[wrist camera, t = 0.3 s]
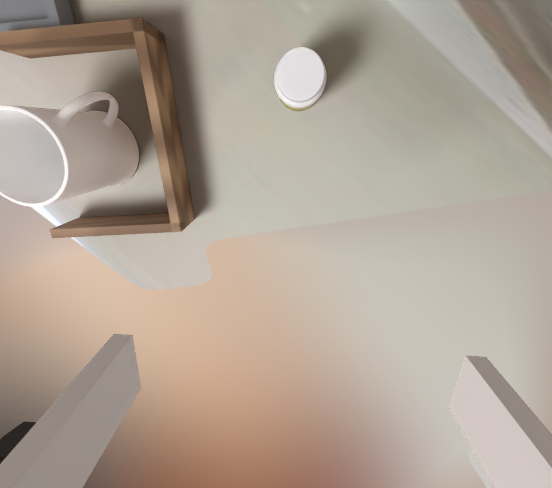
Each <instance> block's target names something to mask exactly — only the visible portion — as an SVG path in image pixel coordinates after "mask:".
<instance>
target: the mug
mask: <svg viewBox="0 0 552 488" xmlns="http://www.w3.org/2000/svg"><path fill="white" fill-rule="evenodd" d="M100 100H109V102H110V108H109V111H108V113H107V112H103V111H88V112H79V111H80V110H81V109H83V108H84V107H86V106H87V105H89V104H91V103H94V102H96V101H100ZM118 109H119V107H118V103H117V101H116V99H115V98H114V97H113V96H112V95H110V94H108V93H106V92H101V91H97V92H91V93H88V94H85V95H82V96H80V97H78V98H77V99H75V100H73V101H72V102H70V103H69V104H67V105H66V106H65V107H64V108H62V109H61V110H56V109H45V108H33V107H22V106H9V105H2V106H0V194H1V195H2V196H4V197H5V198H7V199H9V200H11V201H13V202H15V203H18V204H21V205H25V206H43V205H47V204H51V203H54V202H57V201H60V200H64V199H67V198H70V197H74V196H77V195H80V194H84V193H87V192H90V191H93V190H97V189H100V188H103V187H107V186H117V185H121V184H123V183H125V182H126V181H128V180H129V179H130V178H131V177H132V176H133V175H134V173H135V171H136V169H137V166H138V162H139V150H138V145H137V142H136V140H135V137H134V135H133V134H132V132H131V130H130V129H129V128H128V127H127V126H126V124H125V123H124V122H122V121H121V120H120V119H119V118H117V115H118Z"/></svg>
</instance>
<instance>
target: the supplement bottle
mask: <svg viewBox="0 0 552 488" xmlns="http://www.w3.org/2000/svg"><path fill="white" fill-rule="evenodd" d="M325 84H326V69H325V66H324V63H323V61H322V60H321V58H320V57H319V55H318V54H317V53H316V52H315V51H313V50H312V49H310V48H306V47H296V48H293V49H291V50H289V51H288V52H287V53H286V54H285V55H284V56H283V57H282V58H281V59H280V61H279V62H278V64H277V67H276V69H275V74H274V86H275V90H276V93H277V95H278V96H279V98H280V100H281V102H282V103H283V104H284V105H285V106H286V107H287V108H289V109H291V110H294V111H303V110H306V109H308V108H310V107H311V106H313V105H314V104H315V102H316V101H317V100H318V99H319V98H320V96H321V95H322V93H323V90H324V88H325Z"/></svg>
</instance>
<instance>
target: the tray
mask: <svg viewBox="0 0 552 488" xmlns="http://www.w3.org/2000/svg"><path fill="white" fill-rule="evenodd" d="M74 24H75V21H74V17H73V13H72V9H71V5H70V1H69V0H0V32H6V31H16V30H25V29H35V28H45V27H54V26H64V25H74Z"/></svg>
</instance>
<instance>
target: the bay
mask: <svg viewBox="0 0 552 488" xmlns="http://www.w3.org/2000/svg"><path fill="white" fill-rule="evenodd" d="M133 48H136V49H137V54H138V59H139V64H140V70H141V75H142V80H143V85H144V90H145V95H146V100H147V105H148V110H149V115H150V121H151V126H152V131H153V136H154V141H155V146H156V151H157V156H158V161H159V166H160V171H161V177H162V182H163V187H164V192H165V197H166V202H167V207H168V212H169V213H160V214H141V215H123V216H105V217H86V218H77V219H75V220H72V221H70V222H67V223H65V224H63V225H60V226H58V227H55V228H53V229H50V232H51V235H52V238H63V237H83V236H103V235H123V234H143V233H163V232H181V231H182V230H183V229H185V228H186V227H187V226H188V225H189V224H190V223H191V222H192V221H193V220H194V213H193V207H192V201H191V195H190V189H189V183H188V177H187V171H186V165H185V159H184V153H183V147H182V141H181V135H180V129H179V123H178V117H177V111H176V105H175V99H174V93H173V87H172V81H171V75H170V69H169V63H168V57H167V51H166V45H165V39H164V34H163V33H161V32H160V31H159V30H157V29H156V28H155V27H153V26H152V25H151V24H149V23H148V22H147V21H145V20H144V19H143V18H132V19H123V20H113V21H103V22H93V23H84V24H74V25H64V26H54V27H45V28H35V29H25V30H16V31H6V32H0V50H2V51H5V52H9V53H12V54H16V55H20V56H23V57H27V58H39V57H49V56H60V55H70V54H81V53H91V52H102V51H112V50H123V49H133Z"/></svg>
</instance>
